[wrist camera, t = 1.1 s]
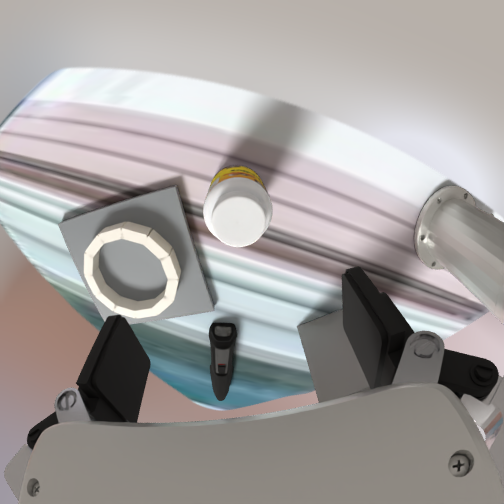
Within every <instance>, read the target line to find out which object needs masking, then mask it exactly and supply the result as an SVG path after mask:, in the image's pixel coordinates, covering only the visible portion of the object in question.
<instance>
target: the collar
mask: <svg viewBox="0 0 504 504" xmlns="http://www.w3.org/2000/svg"><path fill="white" fill-rule="evenodd" d="M58 225H59V228H60V230H61V233H62V235H63V238H64V240H65V243H66V245H67V247H68V250H69V252H70V254H71V256H72V259H73V261H74V263H75V265H76V267H77V270H78V272H79V274H80V276H81V278H82V280H83V282H84V284H85V286H86V288H87V290H88V292H89V294H90V296H91V298H92V300H93V301H94V303H95V305H96V307H97V309H98V311H99V312H100V314H101V316H102V318H103V320H104V321H106V319H107V317H108V316H112V315H121V316H122V317H125V318H126V320H127V322H128V323H129V324H135V323H142V322H149V321H156V320H162V319H169V318H175V317H181V316H187V315H193V314H199V313H205V312H211V311H214V303H213V300H212V297H211V294H210V292H209V289H208V286H207V282H206V279H205V276H204V273H203V270H202V267H201V264H200V261H199V258H198V255H197V251H196V248H195V245H194V242H193V238H192V235H191V232H190V228H189V225H188V222H187V218H186V215H185V211H184V208H183V205H182V201H181V197H180V194H179V190H178V187H177V185H174V186H171V187H167V188H163V189H160V190H156V191H153V192H149V193H146V194H142V195H139V196H136V197H132V198H129V199H126V200H123V201H119V202H116V203H113V204H110V205H107V206H104V207H101V208H98V209H95V210H92V211H89V212H86V213H83V214H81V215H78V216H75V217H72V218H70V219H67V220H64V221H62V222H60V223H59V224H58Z"/></svg>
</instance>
